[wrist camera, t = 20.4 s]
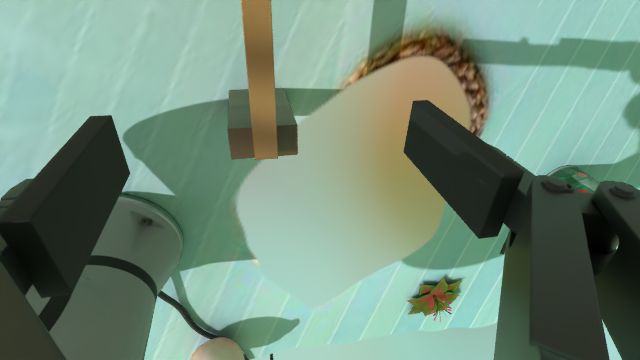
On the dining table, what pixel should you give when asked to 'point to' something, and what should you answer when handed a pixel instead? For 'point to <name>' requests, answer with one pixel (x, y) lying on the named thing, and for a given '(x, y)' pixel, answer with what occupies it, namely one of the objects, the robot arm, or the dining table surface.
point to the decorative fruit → (218, 350)
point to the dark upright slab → (242, 125)
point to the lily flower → (434, 298)
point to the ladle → (260, 76)
